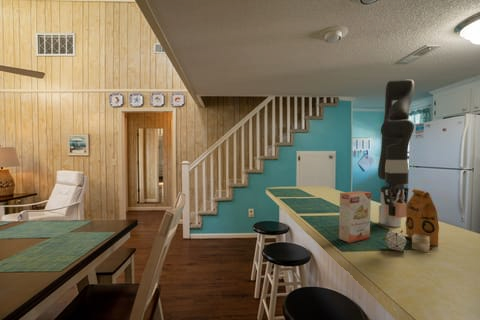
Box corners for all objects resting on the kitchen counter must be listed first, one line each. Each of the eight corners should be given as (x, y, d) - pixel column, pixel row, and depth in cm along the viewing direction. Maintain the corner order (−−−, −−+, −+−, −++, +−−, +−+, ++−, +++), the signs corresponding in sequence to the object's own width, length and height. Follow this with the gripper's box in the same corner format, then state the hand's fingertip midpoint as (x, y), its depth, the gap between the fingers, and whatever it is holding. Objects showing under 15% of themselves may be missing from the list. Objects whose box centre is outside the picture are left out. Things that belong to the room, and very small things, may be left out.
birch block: (411, 248, 95) (412, 236, 95) (414, 245, 99) (414, 233, 99) (427, 252, 92) (427, 239, 92) (429, 248, 95) (429, 236, 95)
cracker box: (350, 243, 101) (350, 194, 100) (338, 239, 106) (338, 192, 105) (371, 238, 107) (371, 192, 106) (359, 234, 112) (359, 190, 112)
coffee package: (414, 244, 99) (415, 192, 99) (402, 235, 111) (403, 188, 111) (443, 247, 97) (444, 193, 96) (427, 237, 108) (428, 189, 108)
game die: (389, 258, 95) (373, 234, 99) (407, 250, 95) (391, 226, 100) (399, 256, 87) (382, 230, 92) (420, 247, 87) (401, 221, 92)
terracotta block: (385, 215, 94) (385, 202, 94) (392, 213, 97) (392, 201, 96) (399, 218, 90) (399, 205, 90) (406, 216, 92) (406, 203, 92)
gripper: (396, 170, 100) (395, 210, 100) (376, 171, 92) (375, 215, 93) (416, 171, 93) (416, 214, 93) (396, 172, 86) (396, 219, 86)
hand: (395, 214), depth 93 cm, fingers closed on terracotta block, 5 cm apart
